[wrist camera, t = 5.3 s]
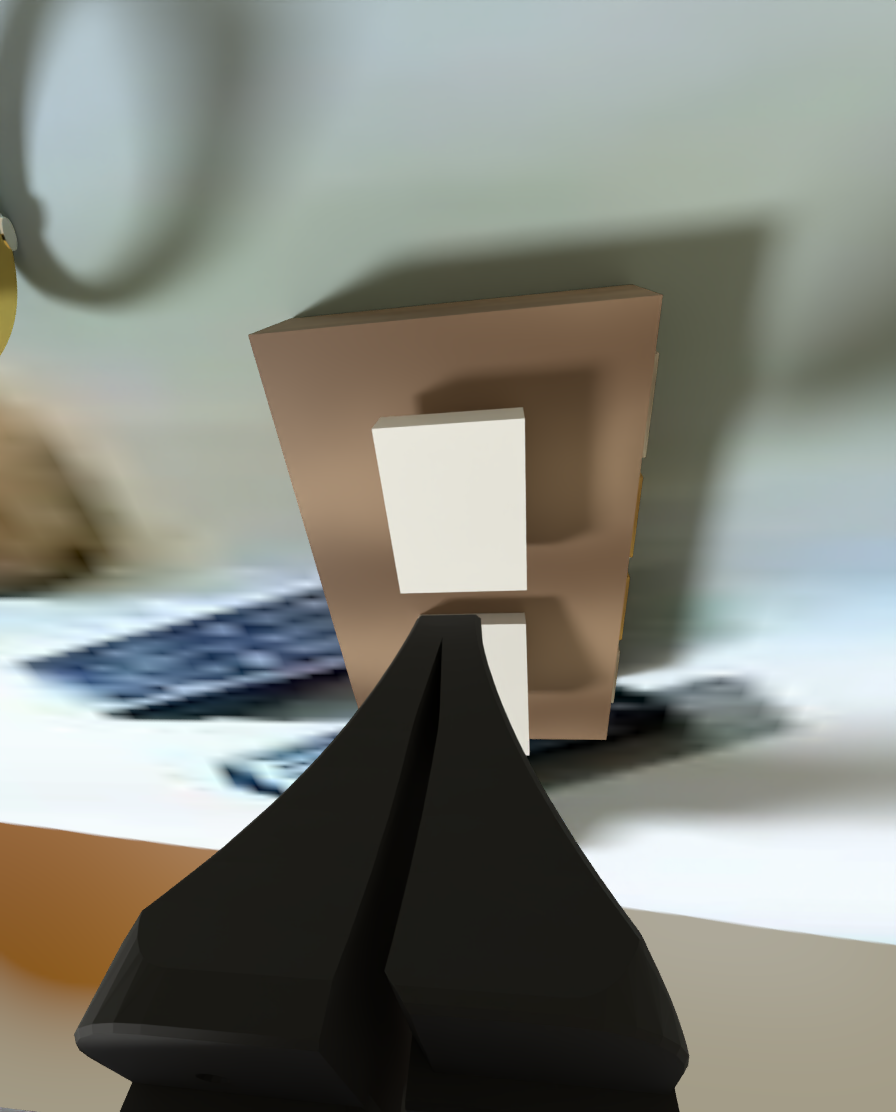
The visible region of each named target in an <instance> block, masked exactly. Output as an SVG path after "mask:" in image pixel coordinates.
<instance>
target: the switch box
mask: <svg viewBox="0 0 896 1112" xmlns="http://www.w3.org/2000/svg"><path fill="white" fill-rule="evenodd" d="M662 297H663V295H662V294H659V293H656V292H653V291H650V290H647V289H644V288H641V287H638V286H635V285H633V284H630V285H621V286H611V287H601V288H591V289H581V290H571V291H561V292H551V293H541V294H531V295H521V296H511V297H501V298H491V299H481V300H471V301H461V302H451V303H441V304H431V305H421V306H411V307H401V308H391V309H381V310H371V311H361V312H351V313H341V314H331V315H321V316H311V317H301V318H291V319H288V320H285V321H283V322H280V323H278V324H275V325H273V326H270V327H267V328H265V329H262V330H260V331H257V332H255V333H252V334H249V335H248V336H249V340H250V343H251V346H252V350H253V353H254V357H255V360H256V363H257V367H258V370H259V373H260V377H261V380H262V384H263V387H264V390H265V394H266V397H267V401H268V404H269V407H270V411H271V414H272V417H273V421H274V424H275V428H276V431H277V434H278V438H279V441H280V445H281V448H282V451H283V455H284V458H285V462H286V465H287V468H288V472H289V475H290V478H291V482H292V485H293V489H294V492H295V495H296V499H297V502H298V506H299V509H300V512H301V516H302V519H303V522H304V526H305V529H306V533H307V536H308V539H309V543H310V546H311V550H312V553H313V556H314V560H315V563H316V566H317V570H318V573H319V577H320V580H321V583H322V587H323V590H324V594H325V597H326V600H327V604H328V607H329V611H330V614H331V617H332V621H333V624H334V627H335V631H336V634H337V638H338V641H339V644H340V648H341V651H342V655H343V658H344V661H345V665H346V668H347V671H348V675H349V678H350V682H351V685H352V688H353V692H354V695H355V699H356V702H357V705H358V709H359V708H360V706H361V705H362V704H363V702H364V701H365V700H366V698H367V697H368V696H369V694H370V693H371V692H372V690H373V689H374V688H375V686H376V685H377V683H378V682H379V680H380V679H381V677H382V676H383V674H384V673H385V671H386V670H387V668H388V667H389V666H390V664H391V663H392V661H393V660H394V658H395V656H396V655H397V653H398V651H399V650H400V648H401V647H402V645H403V643H404V642H405V640H406V638H407V637H408V635H409V633H410V631H411V629H412V628H413V626H414V624H415V622H416V620H417V619H418V617H419V615H432V614H482V613H525V620H526V646H527V684H528V721H529V739H589V740H606V737H607V729H608V721H609V713H610V706H611V703H613V702H614V694H615V687H616V679H617V672H618V664H619V656H620V650H619V647H618V643H619V640H622V634H623V626H624V618H625V611H626V603H627V596H628V588H629V580H630V576H629V574H628V564H629V557H633V550H634V542H635V535H636V527H637V520H638V512H639V504H640V497H641V489H642V482H643V476H642V474H641V473H640V470H641V462H642V458H646V451H647V444H648V436H649V428H650V421H651V413H652V406H653V398H654V390H655V383H656V375H657V368H658V360H659V353H658V352H657V351H656V345H657V337H658V329H659V321H660V313H661V305H662ZM518 407H523V411H524V417H525V480H526V561H527V590H517V591H478V592H439V593H400V587H399V582H398V576H397V570H396V565H395V559H394V553H393V548H392V542H391V536H390V531H389V525H388V519H387V513H386V508H385V502H384V496H383V491H382V485H381V479H380V474H379V468H378V462H377V457H376V451H375V445H374V440H373V434H372V428H373V426H374V425H375V424H376V422H377V421H378V420H379V418H380V417H393V416H407V415H421V414H435V413H449V412H463V411H477V410H491V409H504V408H518Z"/></svg>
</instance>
